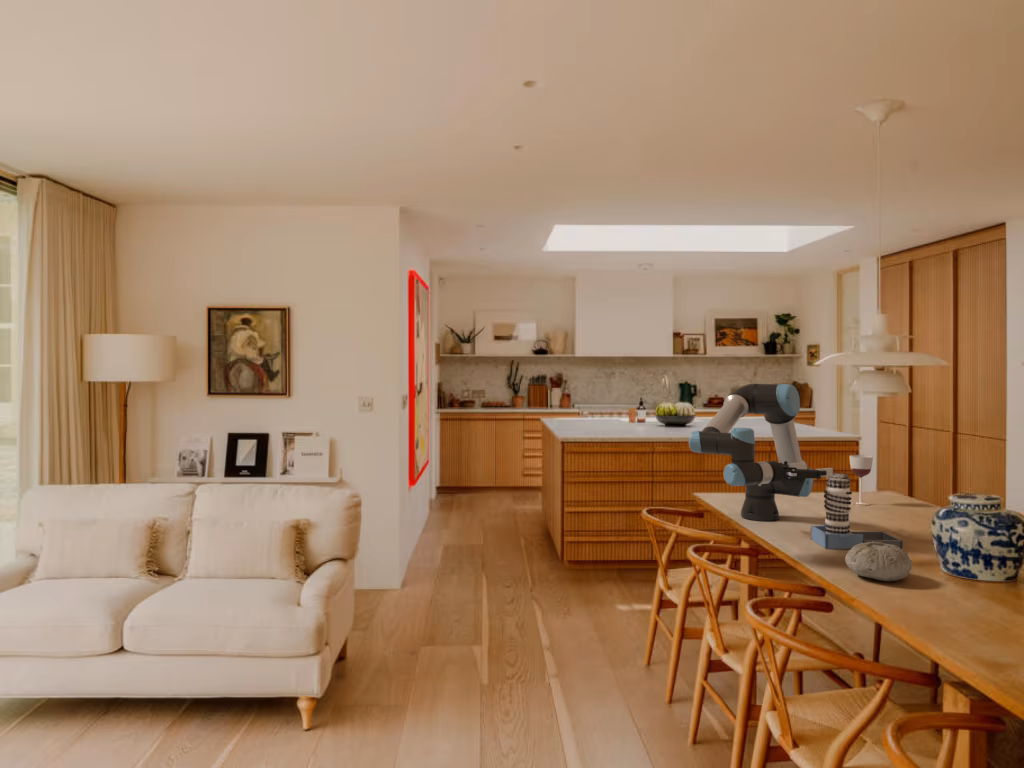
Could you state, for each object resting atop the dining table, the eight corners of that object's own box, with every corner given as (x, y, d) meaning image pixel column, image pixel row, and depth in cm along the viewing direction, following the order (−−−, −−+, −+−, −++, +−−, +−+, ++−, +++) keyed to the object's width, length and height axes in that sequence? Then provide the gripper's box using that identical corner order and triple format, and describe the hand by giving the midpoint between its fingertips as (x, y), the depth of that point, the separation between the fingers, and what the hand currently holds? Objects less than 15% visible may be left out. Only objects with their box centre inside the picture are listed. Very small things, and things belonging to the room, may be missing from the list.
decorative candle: (840, 540, 263) (841, 471, 262) (856, 546, 254) (858, 476, 253) (817, 541, 261) (818, 472, 260) (833, 547, 252) (834, 476, 251)
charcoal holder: (862, 549, 251) (863, 540, 250) (845, 539, 264) (845, 531, 264) (902, 549, 250) (902, 540, 250) (883, 539, 264) (883, 531, 264)
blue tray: (827, 550, 249) (828, 535, 249) (808, 537, 267) (808, 524, 266) (865, 550, 249) (865, 536, 248) (843, 538, 266) (843, 524, 266)
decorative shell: (892, 590, 205) (893, 555, 205) (833, 575, 220) (833, 542, 219) (922, 579, 216) (923, 546, 215) (864, 565, 230) (864, 534, 230)
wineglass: (849, 501, 336) (849, 454, 336) (872, 503, 332) (872, 455, 332) (848, 504, 329) (849, 456, 328) (872, 506, 324) (872, 457, 324)
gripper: (744, 477, 259) (793, 474, 265) (791, 490, 235) (844, 485, 242) (744, 456, 258) (793, 453, 265) (791, 467, 235) (844, 463, 241)
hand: (817, 469), depth 253 cm, fingers open, 13 cm apart
